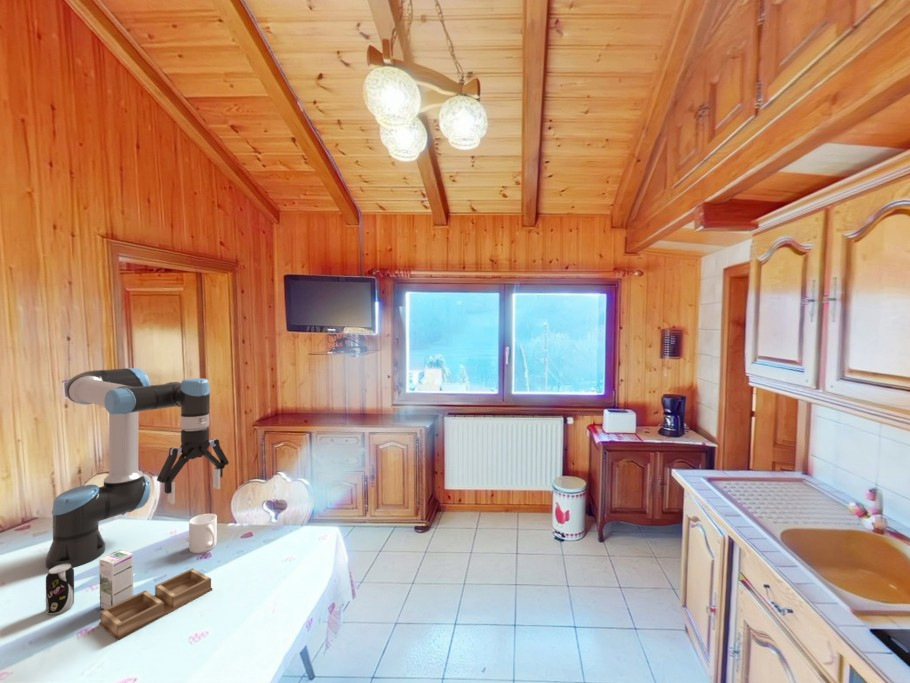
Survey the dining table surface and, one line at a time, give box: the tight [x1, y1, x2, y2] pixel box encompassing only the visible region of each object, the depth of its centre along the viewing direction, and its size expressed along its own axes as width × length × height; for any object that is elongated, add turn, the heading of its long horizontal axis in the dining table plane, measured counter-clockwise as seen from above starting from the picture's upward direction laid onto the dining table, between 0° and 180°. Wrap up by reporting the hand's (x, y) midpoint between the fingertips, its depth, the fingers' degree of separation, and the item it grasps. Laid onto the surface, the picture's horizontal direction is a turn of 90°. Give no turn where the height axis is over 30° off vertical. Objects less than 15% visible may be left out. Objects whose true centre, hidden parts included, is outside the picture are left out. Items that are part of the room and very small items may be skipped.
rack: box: [98, 568, 213, 641], centre depth 118 cm, size 11×24×4 cm, turn 150°
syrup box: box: [98, 549, 134, 610], centre depth 118 cm, size 6×6×14 cm
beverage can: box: [45, 564, 75, 615], centre depth 115 cm, size 6×6×12 cm
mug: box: [188, 513, 218, 554], centre depth 148 cm, size 9×12×11 cm
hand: (195, 495), depth 128 cm, fingers open, 13 cm apart
